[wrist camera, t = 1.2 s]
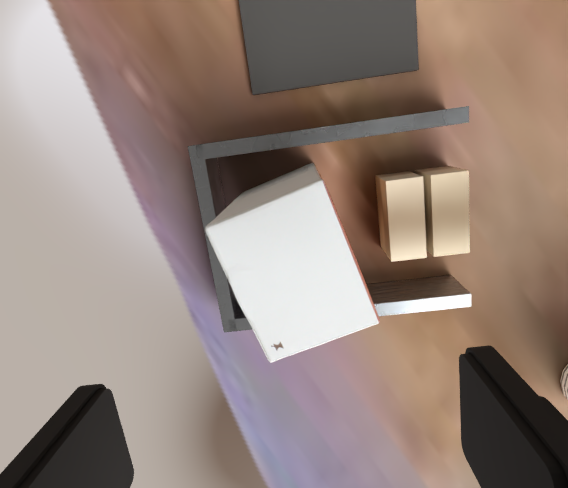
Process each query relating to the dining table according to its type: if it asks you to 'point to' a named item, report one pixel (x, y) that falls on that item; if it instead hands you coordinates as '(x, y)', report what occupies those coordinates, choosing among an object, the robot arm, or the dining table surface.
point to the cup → (564, 381)
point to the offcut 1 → (401, 215)
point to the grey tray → (204, 156)
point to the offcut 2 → (446, 210)
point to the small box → (292, 264)
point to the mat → (326, 41)
